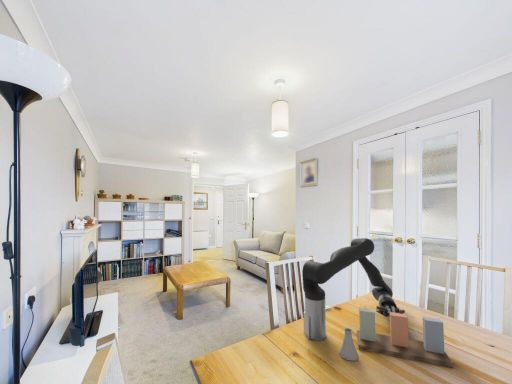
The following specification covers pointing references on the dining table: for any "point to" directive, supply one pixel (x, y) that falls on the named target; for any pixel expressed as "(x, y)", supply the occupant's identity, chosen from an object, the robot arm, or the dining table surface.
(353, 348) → the flask
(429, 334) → the slate tab
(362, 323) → the sage tab
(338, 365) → the dining table surface
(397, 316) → the terracotta tab
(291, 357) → the dining table surface
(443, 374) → the dining table surface
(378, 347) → the brown wooden flat board
